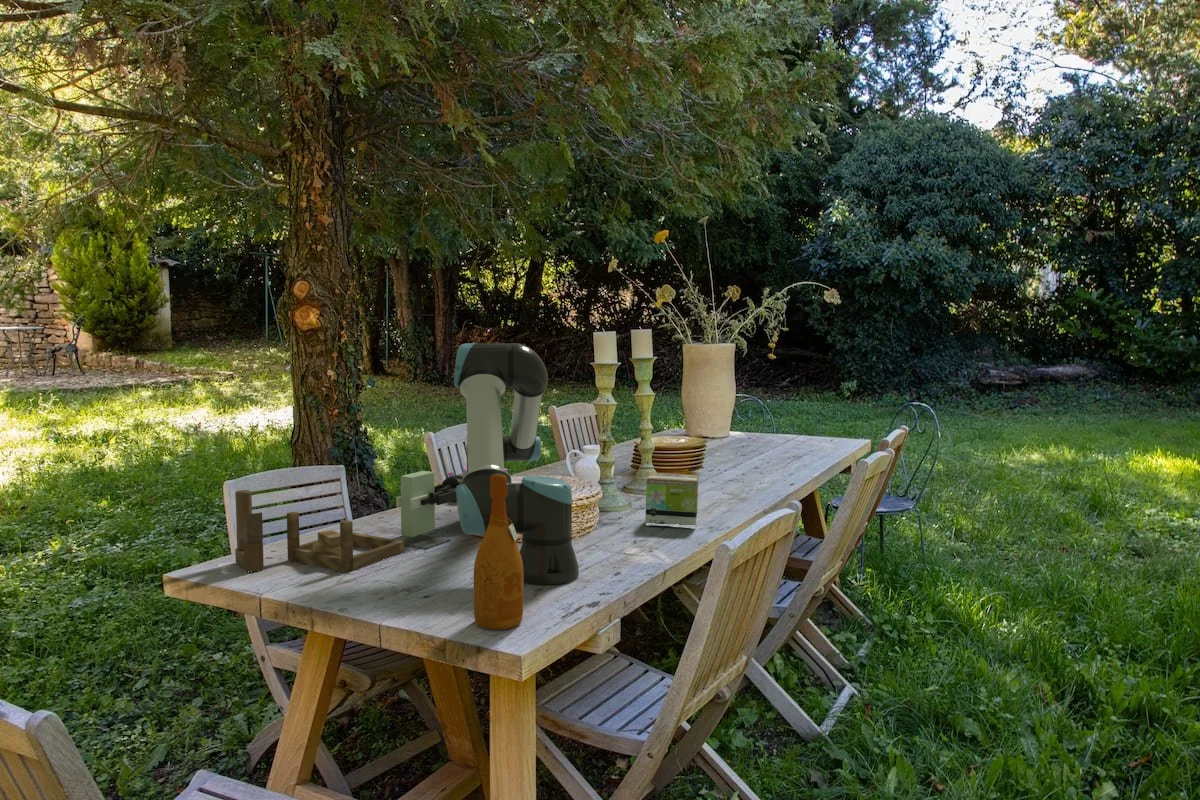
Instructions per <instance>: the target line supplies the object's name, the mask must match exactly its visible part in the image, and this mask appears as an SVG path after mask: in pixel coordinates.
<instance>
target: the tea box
mask: <svg viewBox="0 0 1200 800" xmlns="http://www.w3.org/2000/svg"><path fill="white" fill-rule="evenodd" d="M645 493H646V494H645V523H655V524H679V525H697V521H696V519H697V520H698V497H699V494H698V493H699V475H698V474H685V473H684V474H682V473H681V474H680V473H667V472H666V473H663V472H662V473H661V472H649V475H648V476H647V478H646V491H645Z"/></svg>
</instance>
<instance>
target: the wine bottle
mask: <svg viewBox="0 0 1200 800" xmlns="http://www.w3.org/2000/svg"><path fill="white" fill-rule="evenodd" d="M507 496H508V491H507V477H506V476H505V475H504V474H494V475H492V476H491V477H490V497H491V498H492V507H491V516H490V522H489V525H488V528H487V530H486V533H485V535H484V536H482V537H483V538H482V540H481V542H480V544H479V547H478V550H477V553H476V556H475V560H474V565H473V611H474V612H473V613H474V614H473V616H474V621H475V623H476V624H477V626H479V627H481V628H483V629H486V630H491V631H503V630H508V629H512V628H515V627H516V626H518V625H520V623H521V622H522V620H523V614H524V584H525V582H524V573H523V562H522V558H521V554H520V549H519V546H518V543H517V541H516V540H517V539H518V537H519V536H518V533H516V531H515V528H514V525H513V524H511V525H509V524H508V520H507V519H508V518H507V515H506V505H505V498H506V497H507ZM510 521H511V520H510ZM511 523H512V522H511Z"/></svg>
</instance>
